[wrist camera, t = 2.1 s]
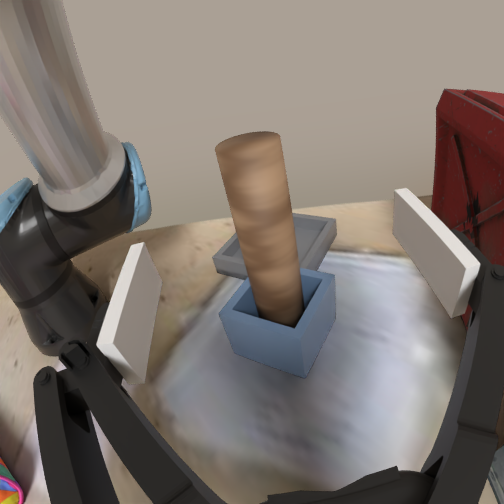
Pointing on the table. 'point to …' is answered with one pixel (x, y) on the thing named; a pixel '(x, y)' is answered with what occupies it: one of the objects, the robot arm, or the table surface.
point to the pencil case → (9, 487)
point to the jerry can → (471, 170)
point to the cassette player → (497, 475)
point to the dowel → (264, 223)
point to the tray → (307, 238)
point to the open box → (282, 326)
